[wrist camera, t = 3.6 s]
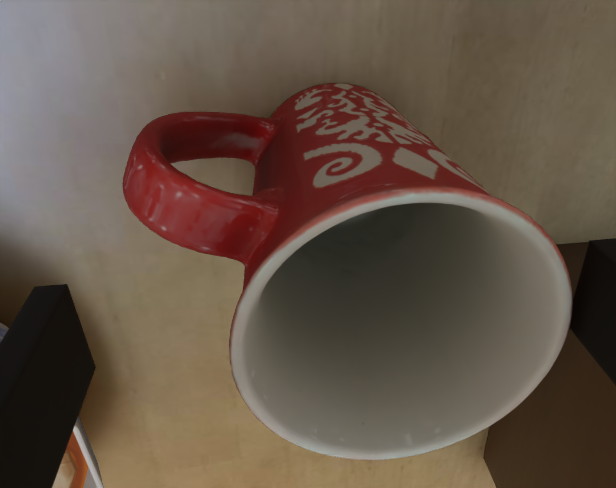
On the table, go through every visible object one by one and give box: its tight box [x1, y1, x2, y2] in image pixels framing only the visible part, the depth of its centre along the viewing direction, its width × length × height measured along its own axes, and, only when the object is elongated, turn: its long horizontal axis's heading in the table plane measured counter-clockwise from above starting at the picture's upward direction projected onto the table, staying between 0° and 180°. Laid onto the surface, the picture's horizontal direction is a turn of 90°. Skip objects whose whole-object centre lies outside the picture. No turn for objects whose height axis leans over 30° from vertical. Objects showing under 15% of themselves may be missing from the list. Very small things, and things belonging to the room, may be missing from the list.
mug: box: [123, 83, 573, 460], centre depth 19 cm, size 13×9×14 cm
